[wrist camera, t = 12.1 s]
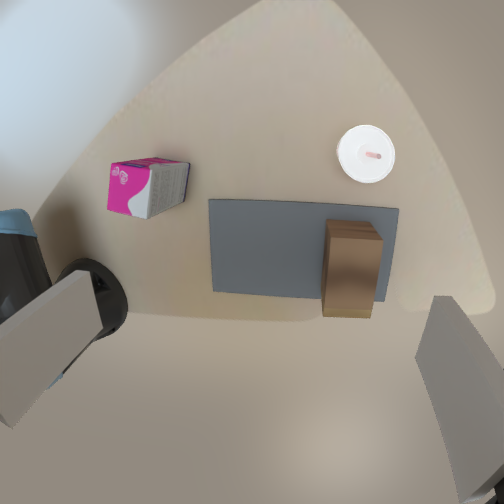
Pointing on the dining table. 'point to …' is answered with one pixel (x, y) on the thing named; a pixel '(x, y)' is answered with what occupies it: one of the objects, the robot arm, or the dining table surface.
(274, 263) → the slate mat
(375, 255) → the walnut block
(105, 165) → the dining table surface
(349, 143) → the beverage cup
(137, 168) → the supplement box
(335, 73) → the dining table surface
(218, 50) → the dining table surface
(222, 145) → the dining table surface
